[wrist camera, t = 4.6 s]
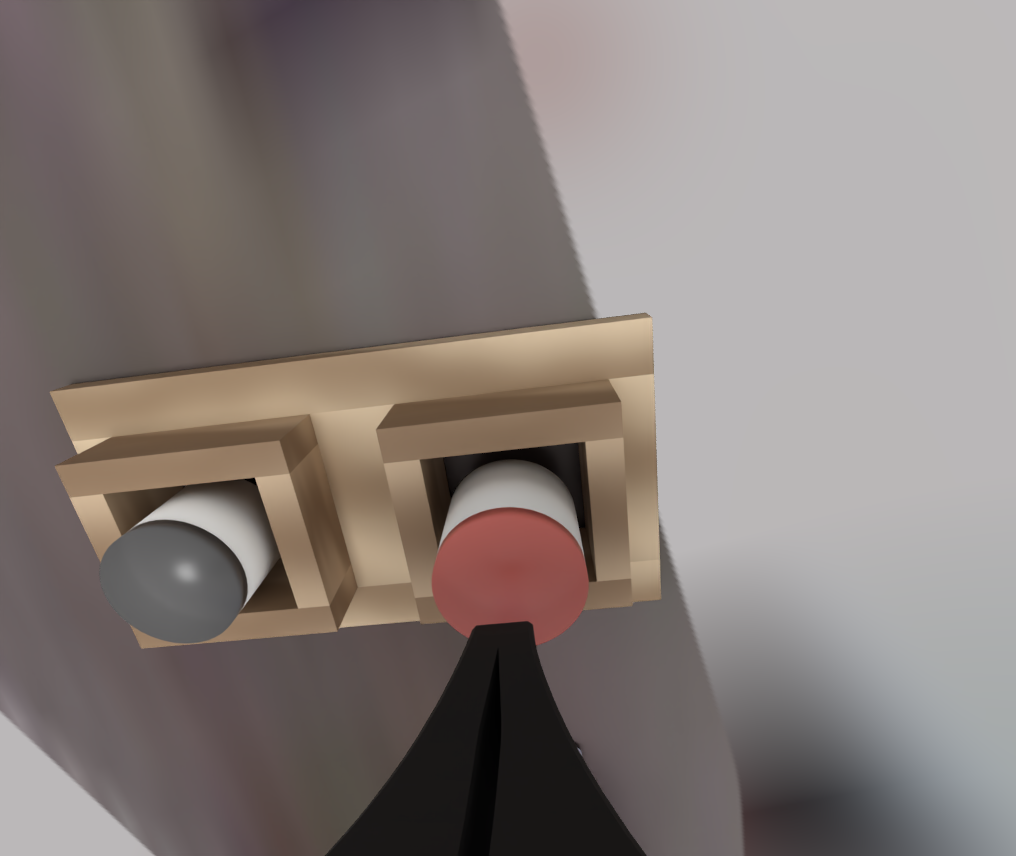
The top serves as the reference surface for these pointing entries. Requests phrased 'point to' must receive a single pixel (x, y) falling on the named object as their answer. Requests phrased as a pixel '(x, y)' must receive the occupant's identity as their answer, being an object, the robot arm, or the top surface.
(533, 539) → the plug red
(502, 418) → the socket panel
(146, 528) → the grey plug
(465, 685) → the robot arm
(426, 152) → the top surface
